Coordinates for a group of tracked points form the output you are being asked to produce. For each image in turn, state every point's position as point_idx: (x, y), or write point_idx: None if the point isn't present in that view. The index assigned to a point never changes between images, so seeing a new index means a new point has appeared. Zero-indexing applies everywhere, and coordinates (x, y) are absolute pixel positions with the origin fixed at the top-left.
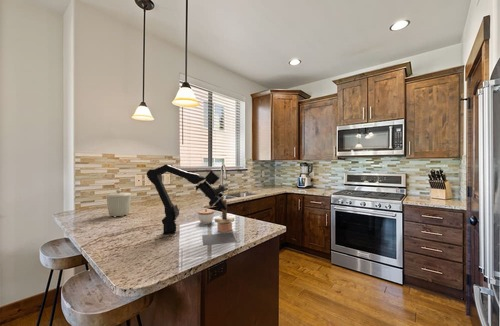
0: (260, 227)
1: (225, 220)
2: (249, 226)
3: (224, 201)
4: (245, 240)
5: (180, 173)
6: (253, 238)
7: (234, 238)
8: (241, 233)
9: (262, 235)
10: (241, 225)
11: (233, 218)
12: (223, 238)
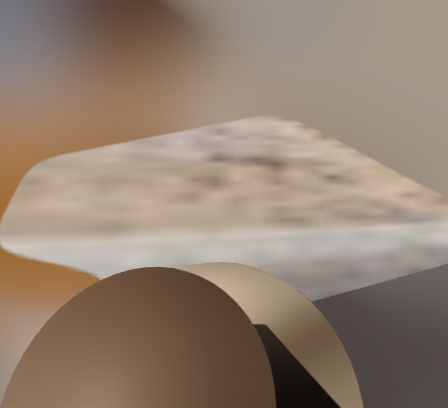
0: (142, 146)
1: (306, 368)
2: (103, 203)
3: (264, 373)
4: (402, 215)
5: None
6: (354, 176)
7: (404, 284)
8: (263, 246)
9: (294, 138)
10: (58, 258)
11: (202, 272)
12: (433, 379)
